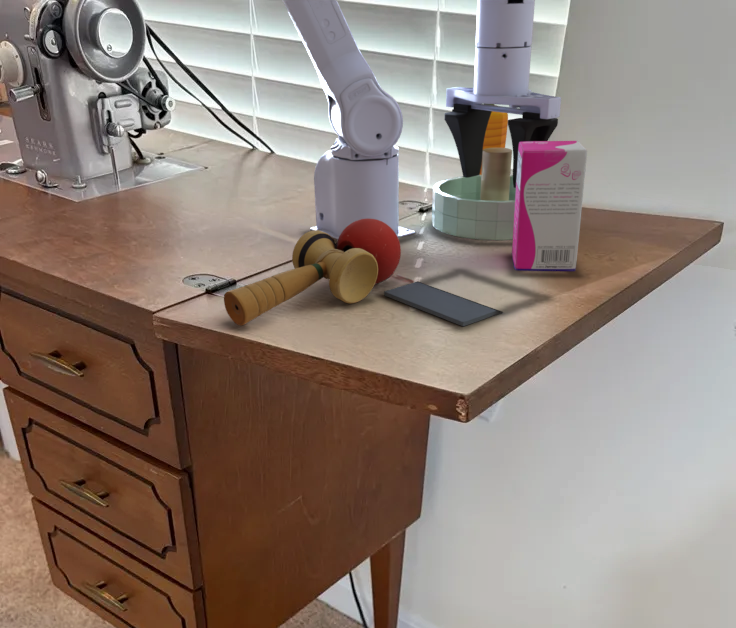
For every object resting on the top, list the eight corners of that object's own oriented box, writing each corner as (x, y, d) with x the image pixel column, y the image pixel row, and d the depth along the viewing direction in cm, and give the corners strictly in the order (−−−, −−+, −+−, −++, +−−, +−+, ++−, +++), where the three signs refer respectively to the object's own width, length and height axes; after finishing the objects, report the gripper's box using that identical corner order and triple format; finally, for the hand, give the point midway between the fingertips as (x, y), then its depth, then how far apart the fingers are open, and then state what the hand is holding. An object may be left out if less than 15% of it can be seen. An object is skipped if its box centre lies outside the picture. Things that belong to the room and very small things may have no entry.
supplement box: (568, 257, 80) (580, 138, 74) (575, 276, 75) (589, 150, 69) (510, 256, 80) (518, 139, 75) (513, 275, 75) (522, 150, 70)
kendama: (273, 354, 63) (427, 273, 72) (249, 280, 60) (412, 205, 70) (224, 343, 69) (372, 269, 78) (200, 274, 66) (356, 206, 75)
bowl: (407, 226, 91) (408, 187, 89) (489, 206, 99) (491, 169, 97) (496, 252, 82) (499, 208, 80) (579, 228, 89) (584, 187, 87)
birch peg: (473, 222, 90) (476, 150, 86) (492, 217, 92) (496, 146, 88) (493, 228, 88) (498, 153, 84) (513, 223, 90) (518, 150, 86)
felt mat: (383, 295, 71) (383, 291, 71) (462, 271, 76) (462, 267, 76) (463, 326, 64) (463, 322, 64) (543, 298, 70) (543, 293, 69)
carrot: (501, 195, 104) (509, 71, 97) (503, 204, 100) (512, 75, 92) (463, 194, 104) (469, 71, 97) (464, 204, 100) (469, 75, 93)
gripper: (585, 46, 78) (571, 185, 85) (479, 42, 88) (474, 166, 95) (538, 51, 75) (527, 196, 81) (433, 45, 84) (431, 175, 91)
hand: (495, 181), depth 88 cm, fingers open, 7 cm apart
